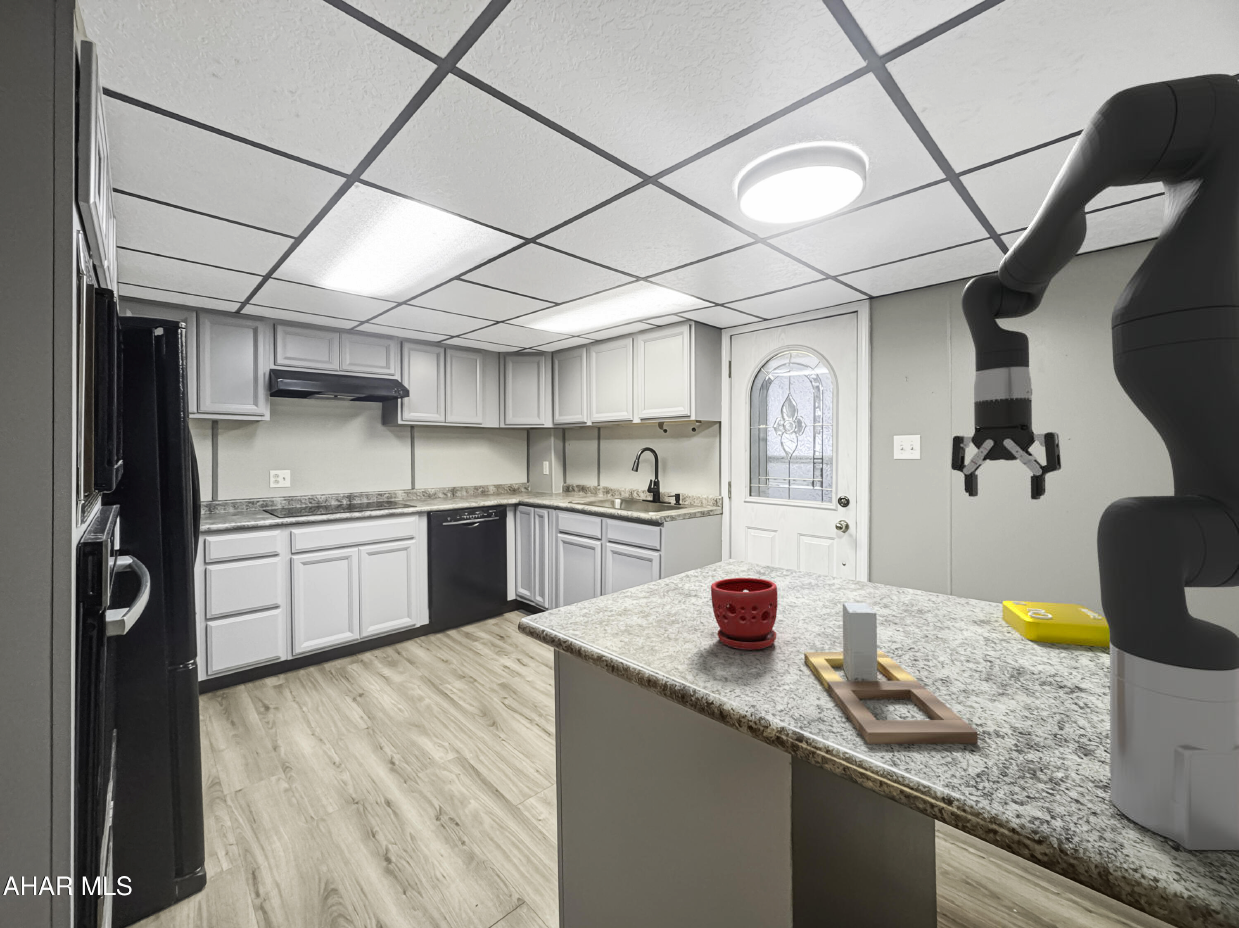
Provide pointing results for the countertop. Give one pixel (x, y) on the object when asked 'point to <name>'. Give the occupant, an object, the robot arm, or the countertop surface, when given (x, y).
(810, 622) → the countertop surface
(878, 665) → the double wooden frame
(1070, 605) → the element tile
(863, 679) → the skincare box
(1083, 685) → the countertop surface
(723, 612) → the plant pot
